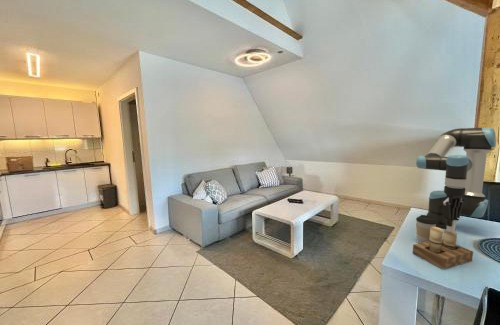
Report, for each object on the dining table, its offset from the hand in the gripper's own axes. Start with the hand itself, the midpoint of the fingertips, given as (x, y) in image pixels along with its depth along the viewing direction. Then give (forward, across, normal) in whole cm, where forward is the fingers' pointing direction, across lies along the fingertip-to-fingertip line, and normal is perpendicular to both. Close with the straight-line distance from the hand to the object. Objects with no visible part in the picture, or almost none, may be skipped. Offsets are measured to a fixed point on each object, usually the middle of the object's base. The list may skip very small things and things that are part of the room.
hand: (450, 231), depth 107 cm
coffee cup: (+13, -3, -14) cm, 19 cm away
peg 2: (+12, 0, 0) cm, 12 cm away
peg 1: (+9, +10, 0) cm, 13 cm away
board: (+13, +5, 0) cm, 14 cm away
